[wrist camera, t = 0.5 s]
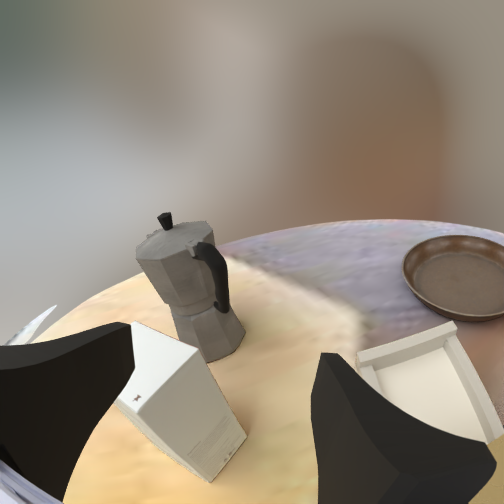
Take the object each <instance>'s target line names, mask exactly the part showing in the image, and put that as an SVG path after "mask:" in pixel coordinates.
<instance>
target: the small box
mask: <svg viewBox="0 0 504 504" xmlns="http://www.w3.org/2000/svg"><path fill="white" fill-rule="evenodd" d="M130 325H131V330H132V341H133V351H134V360H135V370H134V372H133V374H132V376H131V378H130V379H129V381H128V383H127V385H126V386H125V388H124V389H123V391H122V392H121V393H120V395H119V396H118V397H117V399H116V400H115V401H114V404H115V405H116V407H117V408H118V409H119V410H120V411H121V412H122V413H123V414H124V415H125V416H126V417H127V419H128V420H129V421H130V422H131V423H132V424H133V425H134V426H135V427H136V428H137V429H138V430H139V431H140V432H141V433H142V434H143V435H144V436H145V437H146V438H147V439H148V440H149V441H150V442H151V443H152V444H153V445H154V446H156V447H157V448H158V449H159V450H161V451H162V452H163V453H165V454H166V455H167V456H169V457H170V458H171V459H173V460H174V461H176V462H177V463H178V464H180V465H181V466H183V467H184V468H186V469H187V470H189V471H190V472H192V473H193V474H195V475H196V476H198V477H200V478H201V479H203V480H205V481H206V482H208V483H210V482H212V480H213V479H214V478H215V477H216V476H217V474H218V473H219V472H220V471H221V470H222V468H223V467H224V466H225V465H226V463H227V462H228V461H229V460H230V458H231V457H232V456H233V454H234V453H235V452H236V451H237V449H238V448H239V447H240V445H241V444H242V443H243V441H244V440H245V439H246V437H247V435H246V433H245V432H244V430H243V428H242V426H241V425H240V423H239V421H238V420H237V418H236V416H235V415H234V413H233V411H232V410H231V408H230V406H229V404H228V402H227V401H226V399H225V397H224V395H223V393H222V392H221V390H220V388H219V386H218V384H217V382H216V381H215V379H214V377H213V375H212V373H211V371H210V369H209V368H208V366H207V364H206V362H205V360H204V358H203V356H202V354H201V352H200V350H199V348H197V347H194V346H192V345H189V344H187V343H184V342H182V341H179V340H177V339H175V338H172V337H170V336H168V335H165V334H163V333H161V332H159V331H157V330H154V329H152V328H150V327H148V326H146V325H143V324H141V323H139V322H137V321H134V322H132V323H131V324H130Z"/></svg>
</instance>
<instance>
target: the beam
mask: <svg viewBox="0 0 504 504" xmlns="http://www.w3.org/2000/svg"><path fill="white" fill-rule="evenodd" d="M457 329H458V328H457V327H456V325H455V324H454V322H453V320H452V321H450V322H447V323H445V324H442V325H440V326H437V327H434V328H432V329H429V330H426V331H423V332H421V333H418V334H415V335H412V336H409V337H406V338H403V339H400V340H397V341H394V342H391V343H387V344H384V345H381V346H378V347H374V348H371V349H367V350H364V351H360V352H357V357H356V369H355V371H356V372H357V373H358V374H359V375H360V376H361V377H362V378H363V379H364V380H365V381H366V382H367V383H368V384H369V385H370V386H371V387H372V388H373V389H375V390H376V391H377V392H378V393H379V394H381V395H382V396H383V397H384V398H386V399H387V400H388V401H390V402H391V403H392V404H394V405H395V406H397V407H398V408H400V409H401V410H403V411H404V412H406V413H408V414H409V415H411V416H413V417H415V418H417V419H419V420H420V421H422V422H424V423H426V424H428V425H431V426H433V427H435V428H438V429H440V430H443V431H446V432H448V433H451V434H454V435H457V436H461V437H465V438H469V439H473V440H477V441H482V442H485V443H486V445H487V444H489V443H490V442H492V441H494V440H495V439H497V438H498V437H500V436H501V435H503V434H504V429H503V426H502V424H501V421H500V419H499V417H498V415H497V412H496V410H495V408H494V406H493V404H492V402H491V400H490V397H489V395H488V393H487V391H486V389H485V387H484V385H483V383H482V381H481V380H480V378H479V376H478V374H477V372H476V370H475V368H474V366H473V365H472V363H471V361H470V359H469V357H468V356H467V354H466V352H465V350H464V349H463V347H462V345H461V343H460V342H459V340H458V338H457V337H456V335H455V334H456V332H457Z"/></svg>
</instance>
